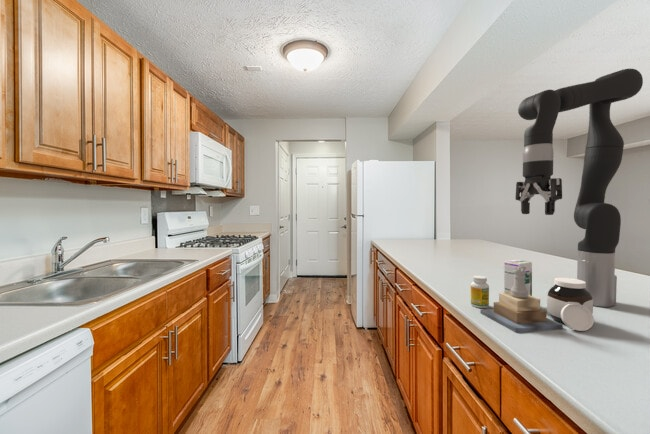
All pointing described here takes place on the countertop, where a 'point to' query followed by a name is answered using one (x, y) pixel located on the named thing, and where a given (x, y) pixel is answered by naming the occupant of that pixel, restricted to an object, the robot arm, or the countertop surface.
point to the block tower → (520, 314)
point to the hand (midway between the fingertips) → (536, 214)
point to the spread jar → (571, 304)
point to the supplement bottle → (480, 292)
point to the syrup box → (510, 274)
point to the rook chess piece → (519, 284)
